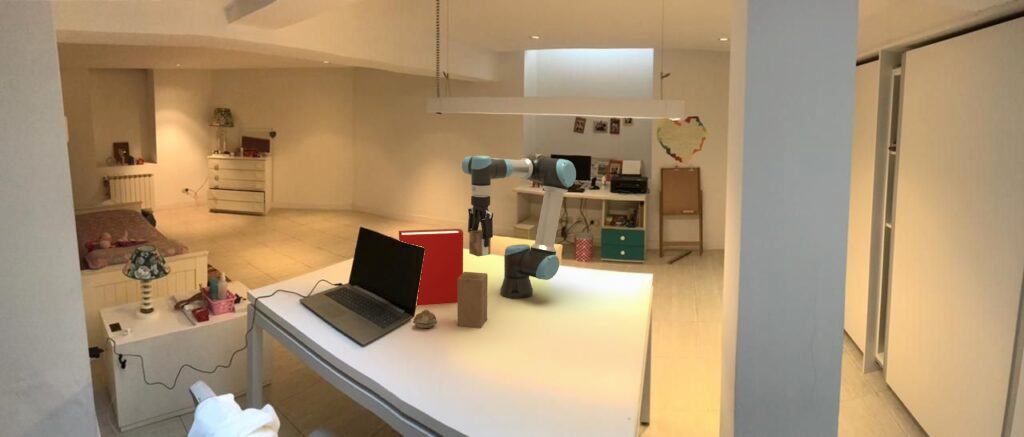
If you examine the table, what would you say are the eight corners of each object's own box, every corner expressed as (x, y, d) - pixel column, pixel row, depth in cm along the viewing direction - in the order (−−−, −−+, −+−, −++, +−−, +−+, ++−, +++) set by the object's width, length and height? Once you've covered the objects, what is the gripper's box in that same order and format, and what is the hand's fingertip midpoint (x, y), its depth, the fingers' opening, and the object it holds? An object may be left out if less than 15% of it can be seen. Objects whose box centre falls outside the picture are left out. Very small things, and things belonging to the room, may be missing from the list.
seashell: (437, 331, 246) (435, 322, 254) (438, 314, 244) (435, 306, 252) (414, 332, 244) (411, 323, 251) (414, 315, 242) (412, 307, 249)
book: (401, 306, 271) (400, 234, 265) (400, 300, 279) (398, 230, 273) (463, 302, 278) (463, 232, 272) (460, 296, 286) (460, 228, 279)
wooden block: (481, 328, 248) (481, 280, 244) (457, 326, 250) (457, 278, 246) (487, 319, 258) (487, 273, 254) (463, 317, 260) (464, 271, 256)
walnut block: (469, 253, 249) (469, 231, 247) (481, 251, 253) (481, 229, 251) (478, 256, 245) (478, 234, 243) (490, 254, 248) (490, 232, 247)
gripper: (459, 192, 249) (458, 249, 254) (487, 199, 235) (486, 259, 239) (474, 191, 254) (473, 246, 258) (503, 198, 239) (501, 256, 244)
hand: (479, 252), depth 249 cm, fingers closed on walnut block, 6 cm apart
